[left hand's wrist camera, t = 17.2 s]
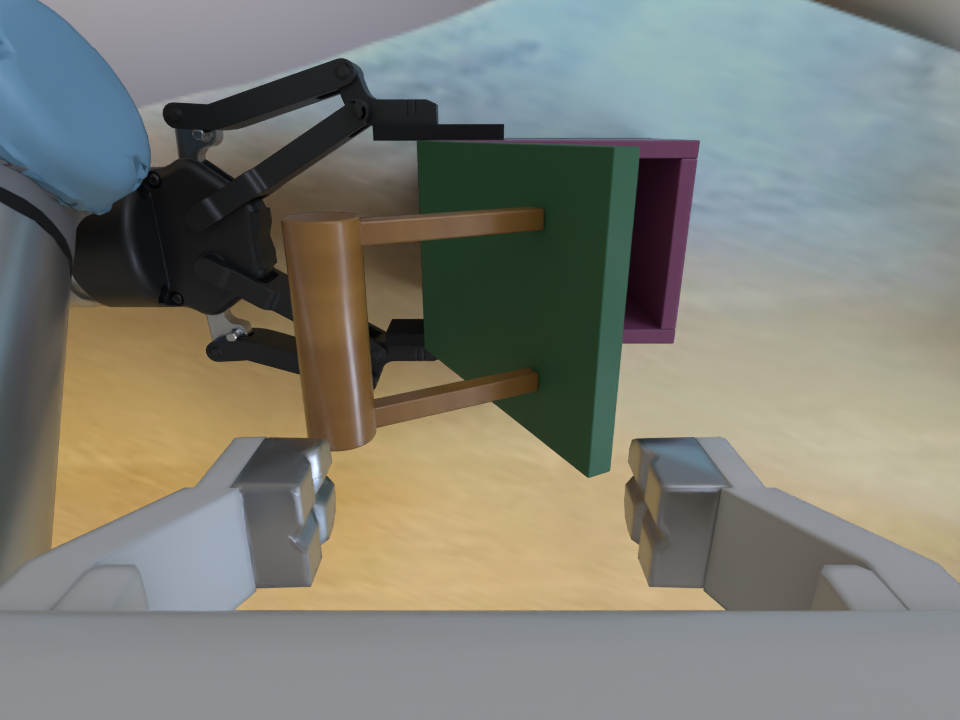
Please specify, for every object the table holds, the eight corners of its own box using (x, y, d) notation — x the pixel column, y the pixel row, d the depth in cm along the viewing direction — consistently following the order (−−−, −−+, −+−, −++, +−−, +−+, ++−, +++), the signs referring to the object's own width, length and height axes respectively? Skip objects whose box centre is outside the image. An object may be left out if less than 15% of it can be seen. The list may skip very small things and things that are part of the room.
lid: (641, 146, 16) (301, 150, 12) (610, 471, 19) (344, 557, 16) (435, 140, 27) (228, 141, 23) (440, 345, 31) (263, 376, 27)
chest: (648, 138, 36) (700, 140, 27) (632, 298, 40) (674, 344, 31) (439, 138, 36) (426, 140, 27) (443, 298, 40) (433, 343, 31)
